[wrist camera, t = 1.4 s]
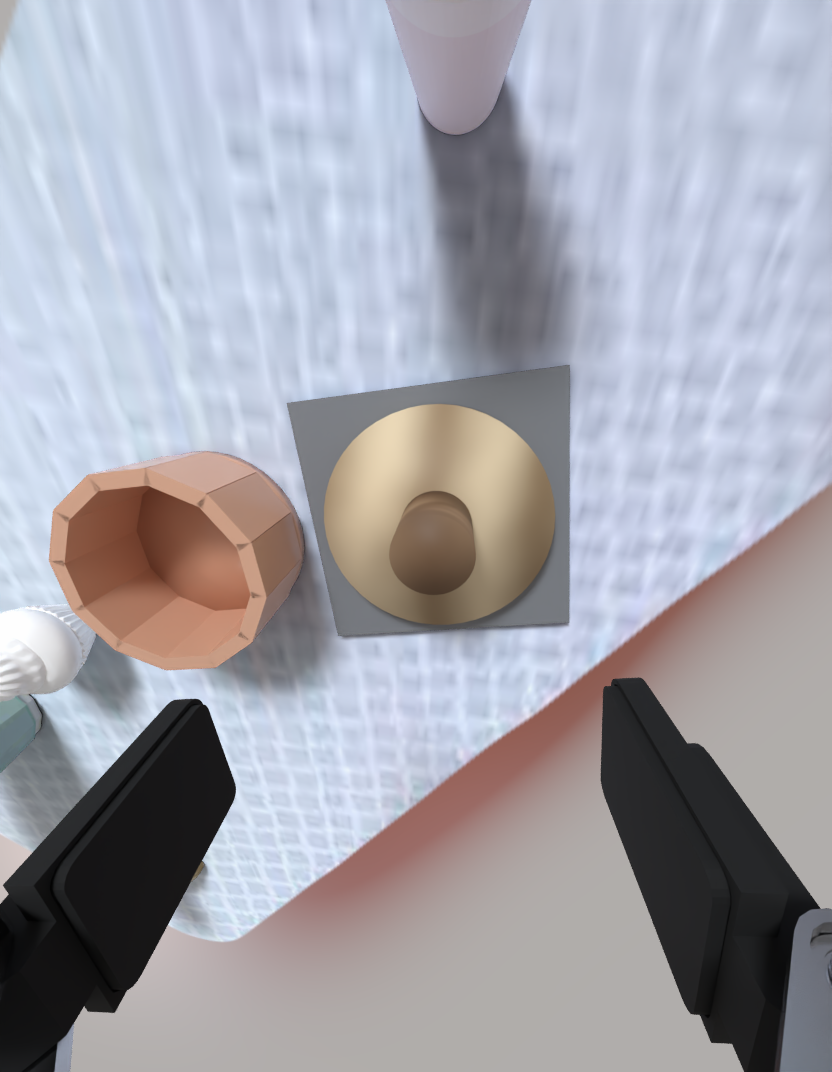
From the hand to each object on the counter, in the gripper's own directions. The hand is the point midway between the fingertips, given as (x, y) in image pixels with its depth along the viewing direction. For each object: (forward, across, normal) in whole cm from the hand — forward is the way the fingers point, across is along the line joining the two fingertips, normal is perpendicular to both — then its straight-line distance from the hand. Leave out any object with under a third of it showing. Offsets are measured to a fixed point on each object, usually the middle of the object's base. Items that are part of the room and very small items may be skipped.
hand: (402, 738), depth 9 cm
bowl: (+16, +14, -1) cm, 21 cm away
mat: (+16, 0, -1) cm, 16 cm away
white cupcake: (+17, +27, +5) cm, 32 cm away
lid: (+16, 0, -1) cm, 16 cm away
